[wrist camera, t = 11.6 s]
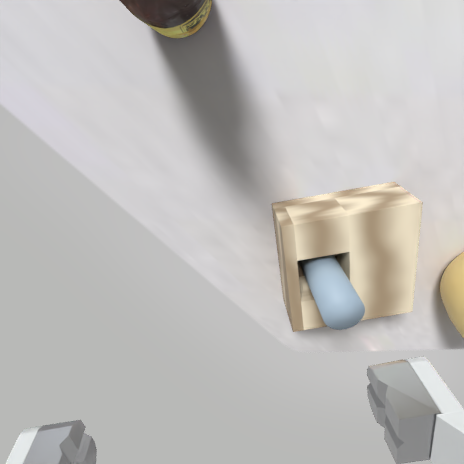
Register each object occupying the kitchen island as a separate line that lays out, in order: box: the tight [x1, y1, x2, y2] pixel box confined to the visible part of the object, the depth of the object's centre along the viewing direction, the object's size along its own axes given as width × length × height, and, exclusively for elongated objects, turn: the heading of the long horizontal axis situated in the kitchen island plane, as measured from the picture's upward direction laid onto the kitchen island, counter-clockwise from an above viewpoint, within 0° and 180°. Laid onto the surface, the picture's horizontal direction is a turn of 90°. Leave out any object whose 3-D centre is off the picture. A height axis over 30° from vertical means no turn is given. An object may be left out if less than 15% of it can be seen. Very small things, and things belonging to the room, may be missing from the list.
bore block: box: [272, 182, 423, 332], centre depth 41 cm, size 14×14×6 cm
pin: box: [298, 255, 365, 330], centre depth 38 cm, size 4×4×10 cm
